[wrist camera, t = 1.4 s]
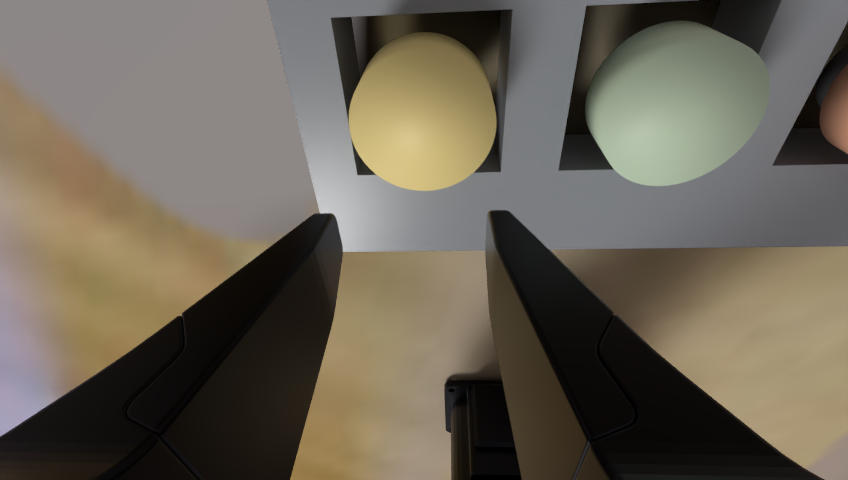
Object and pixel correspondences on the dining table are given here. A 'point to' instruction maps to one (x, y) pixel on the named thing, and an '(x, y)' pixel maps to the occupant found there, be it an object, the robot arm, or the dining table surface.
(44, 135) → the dining table surface
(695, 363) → the dining table surface
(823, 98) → the button terracotta
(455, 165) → the button mustard
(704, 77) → the button sage
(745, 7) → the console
